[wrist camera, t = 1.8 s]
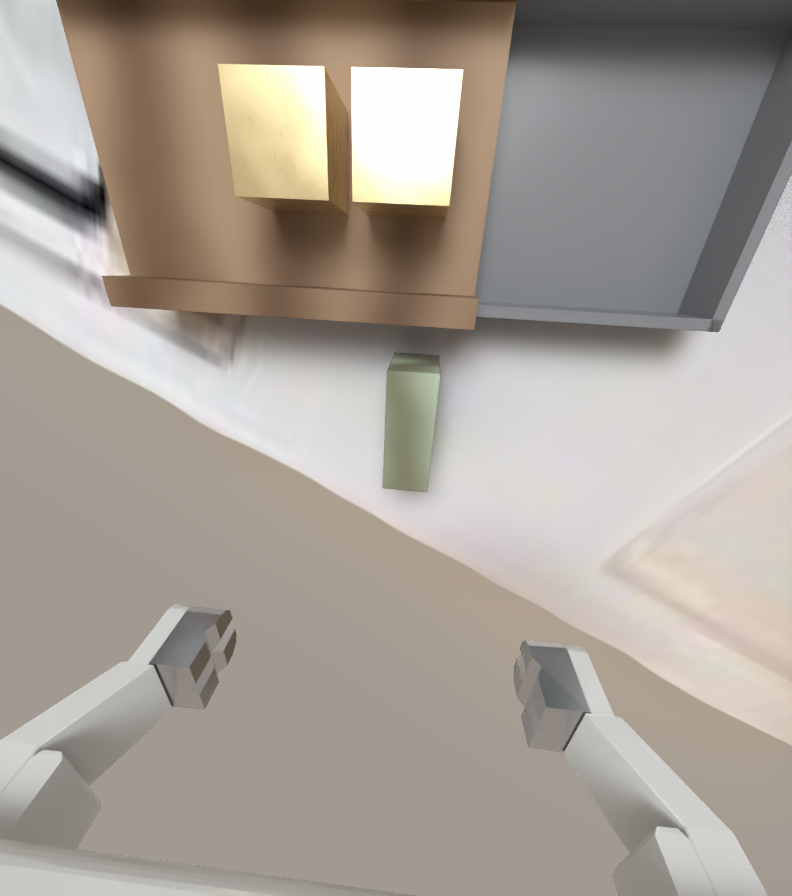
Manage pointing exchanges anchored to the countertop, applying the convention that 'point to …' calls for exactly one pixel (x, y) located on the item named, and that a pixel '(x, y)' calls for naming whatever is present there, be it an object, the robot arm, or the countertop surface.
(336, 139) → the brass block
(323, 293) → the slot board
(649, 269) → the tray
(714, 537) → the countertop surface
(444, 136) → the brass block
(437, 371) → the bar
